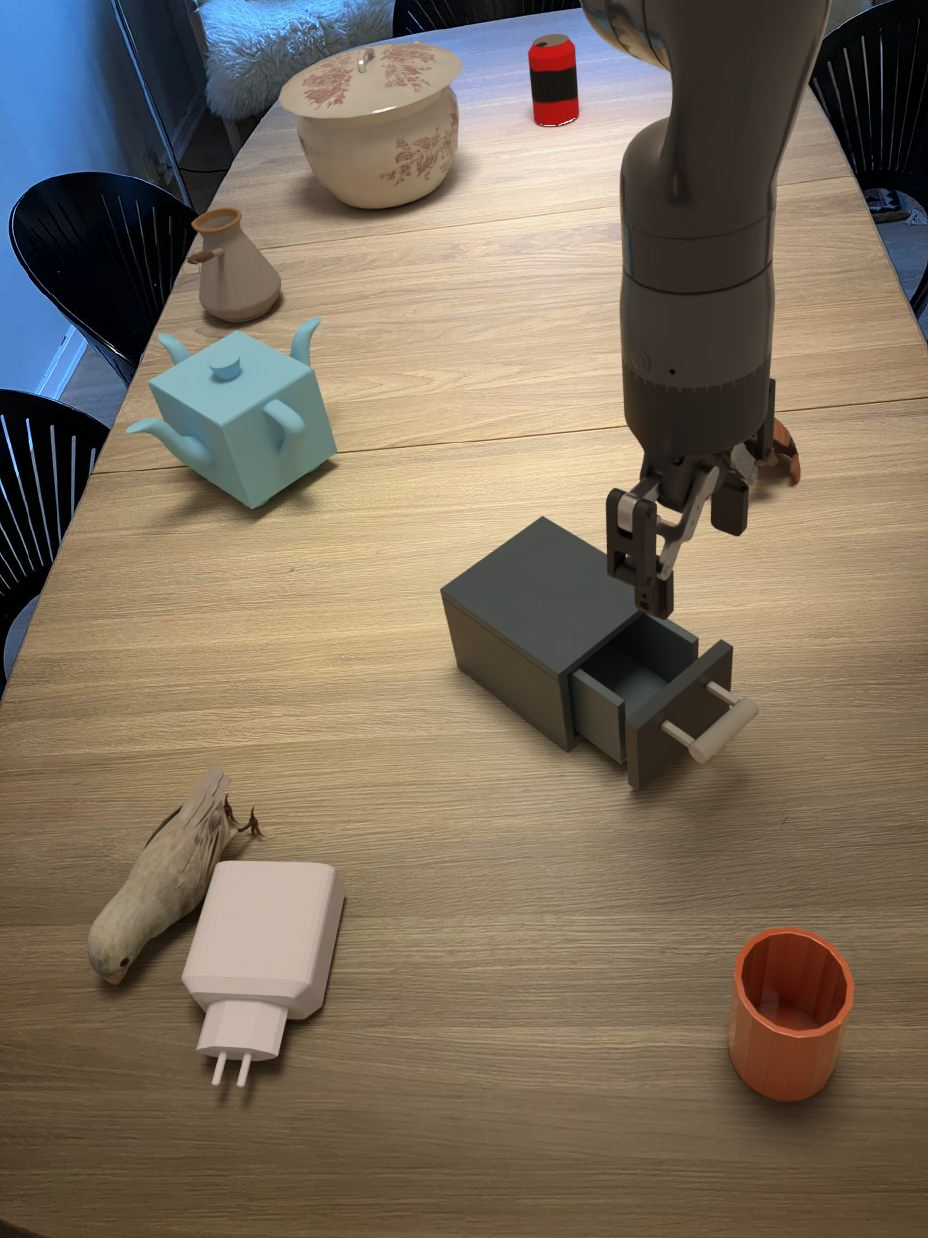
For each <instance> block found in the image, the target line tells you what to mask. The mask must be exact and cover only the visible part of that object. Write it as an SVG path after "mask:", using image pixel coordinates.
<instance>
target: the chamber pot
mask: <svg viewBox="0 0 928 1238" xmlns="http://www.w3.org/2000/svg"><path fill="white" fill-rule="evenodd" d="M462 65H463V64H462V59H461V58H460V56H458V55H457V54H456V53H455V52H454V51H452V49H449V48H445V47H442V46H439V45H436V44H427V43H425V42H424V41H421V40H415V41H414V42H402V43H401V42H400V43H399V42H398V43H384V44H378V45H372V46H369V45H367V46H363V47H360V48H356V49H352V50H349V51H345V52H342V53H338V54H335V55H332V56H330V57H327V58H325V59H322V60H321V61H318V62H316V63H314V64H312V65H310V66H308V67H306V68H304V69H303V70H301V71H300V72H298V73H296V74H294V75H293V76H292V77H291V78H290V79H289V80H288V81H287V82H285V84H284V85H283V86H282V87H281V90H280V92H279V96H278V101H279V104H280V105H281V106H282V108H283V110H285V111H287V112H290V113H292V114H294V115H296V116H298V117H299V119H298V123H297V127H296V133H297V137H298V141H299V144H300V148H301V150H302V152H303V154H304V156H305V159H306V161H307V163H308V165H309V167H310V169H311V172H312V173H313V174H314V177H315V178H316V179H317V180H318V181H319V182H320V184H322V185H323V186H324V187H325V188H326V190H328V191H329V193H331V195H332V196H333V197H334V198H335V199H337V200H338V201H341V203H344V204H346V205H348V206H350V207H354V208H359V209H387V208H394V207H399V206H402V205H406V204H409V203H412V202H414V201H416V200H419V199H422V198H423V197H425V196H428V195H430V193H432V192H433V191H434V190H436V189H437V188H438V187H440V185H441V183H442V182H443V180H444V179H445V177H446V176H447V175H448V173H449V171H450V168H451V165H452V163H453V161H454V158H455V155H456V153H457V151H458V148H459V147H458V146H459V125H460V119H459V118H460V112H459V106H458V105H459V104H458V97H457V94H456V93H455V91H454V90H453V89H452V87H451V84H452V83H454V81H455V80H456V78H457V77H458V76H459V74H460V73H461V72H462V68H463V66H462Z"/></svg>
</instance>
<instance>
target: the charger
mask: <svg viewBox="0 0 928 1238" xmlns="http://www.w3.org/2000/svg"><path fill="white" fill-rule="evenodd" d="M346 892H347V890H346V887H345V885H344V883H343V881H342V878H341V877H340V874H339V872H338V870H337V868H336V867H335V866H333V865H330V864H326V863H323V862H322V863H321V862H311V861H309V862H308V861H307V862H306V861H304V862H303V861H268V860H267V861H265V860H264V861H263V860H225V861H223V860H222V861H219V863H217V864H216V866H215V870H214V873H213V876H212V879H211V883H210V886H209V888H208V890H207V892H206V895H205V899H204V903H203V906H202V909H201V913H200V915H199V918H198V921H197V926H196V929H195V932H194V936H193V939H192V942H191V945H190V949H189V952H188V955H187V958H186V961H185V965H184V968H183V972H182V975H181V981H182V983H183V984H184V986H185V988H186V989H187V991H188V992H189V994H190V995H191V997H192V998H193V999H194V1000H195V1001H196V1003H197V1004H198V1005H199V1007H200V1008H201V1009H202V1011H203V1012H204V1013H205V1017H204V1020H203V1023H202V1028H201V1032H200V1035H199V1039H198V1042H197V1045H196V1049H195V1052H197V1053H200V1054H203V1055H205V1056H210V1057H214V1058H217V1062H216V1065H215V1069H214V1072H213V1077H212V1081H211V1085H212V1086H214V1087H218V1086H220V1084H221V1080H222V1078H223V1073H224V1068H225V1065H226V1060H232V1061H242V1062H241V1066H240V1071H239V1075H238V1078H237V1082H236V1087H238V1088H239V1089H243V1088H244V1087H245V1086H246V1083H247V1079H248V1078H247V1077H248V1074H249V1070H250V1065H251V1062H261V1061H268V1060H273V1059H275V1058H277V1057H278V1056H279V1053H280V1048H281V1044H282V1039H283V1035H284V1031H285V1026H286V1022H287V1020H305V1019H307V1018H308V1017H309V1016H311V1015H312V1014H314V1013H315V1012H316V1011H318V1010H319V1009H320V1008H322V1007H323V1003H324V998H325V993H326V988H327V983H328V979H329V974H330V968H331V963H332V959H333V954H334V950H335V944H336V939H337V935H338V929H339V925H340V920H341V914H342V909H343V906H344V905H343V904H344V902H345V901H344V900H345V897H346V896H345V895H346Z"/></svg>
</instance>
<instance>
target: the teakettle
mask: <svg viewBox="0 0 928 1238" xmlns="http://www.w3.org/2000/svg"><path fill="white" fill-rule="evenodd" d="M321 322H322V317H320V316H316V317H313V318H311V319H308V320H306V321H305V322H304V323H302V324H301V325H300V326H299V327H298V328H297V330H296V332H295V333H294V335H293V338H292V341H291V346H290V351H289V352H290V353H289V355H288V354H285V353H283V352H282V351H280V350H277V349H276V348H274V347H273V346H270V345H269V344H266V343H264V342H262V341H260V340H258V339H256V338H255V337H252V336H250V335H248V334H245V333H244V332H242V331H239V330H237V329H236V330H235V331H233V332H231V333H229V334H228V335H226V336H224V337H222V338H221V339H219V340H217V341H215V342H214V343H212V344H210V345H208V346H207V347H205V348H203V349H201V350H200V351H198V352H196V353H195V354H191V352H190V351H189V350H188V349H187V348H186V347H185V345H184V344H183V342H181V341H180V339H178V338H177V337H176V336H174V335H172V334H169V333H167V332H166V333H164V332H163V333H160V334H158V336H157V340H158V341H159V343H160V344H161V345H162V346H163V348H164V349H165V350H166V352H167V353H168V354H169V356H170V358H171V360H172V363H173V365H174V366H172V367H170V368H168V369H167V370H165V371H163V372H161V373H160V374H159V375H157V376H155V377H153V378H151V379H149V380H148V382H147V384H148V386H149V390H150V391H151V394H152V396H153V398H154V400H155V403H156V405H157V408H158V411H159V412H160V415H161V417H162V419H161V418H157V417H146V418H143V419H140V420H138V421H136V422H135V423H133V424H131V425H130V426H128V428H126V429H125V433H127V434H148V435H151V436H154V437H155V438H156V439H158V440H159V441H160V442H161V443H162V444H163V446H165V448H166V449H167V450H168V451H169V452H170V453H171V454H172V455H173V456H174V457H175V459H177V460H179V461H180V462H181V463H182V464H184V465H185V466H187V467H189V468H190V469H191V470H193V471H194V472H196V473H197V474H199V475H200V476H202V477H203V478H205V479H206V480H207V481H208V482H209V483H211V484H214V485H215V486H216V487H218V488H219V489H221V490H223V491H224V492H225V493H226V494H228V495H230V496H232V497H233V498H234V499H236V500H237V501H239V502H241V504H243V505H244V506H245V507H247V508H249V509H251V510H254V509H256V508H260V507H262V506H264V505H266V504H267V503H268V502H269V500H270V499H271V498H272V497H274V496H275V495H277V494H278V493H279V492H281V491H283V490H284V489H286V488H287V487H289V486H290V485H291V484H293V483H294V482H296V481H297V480H299V479H300V478H301V477H303V476H305V475H306V474H310V473H313V472H315V471H316V470H317V469H318V468H320V466H321V464H323V463H324V462H326V461H327V460H329V459H330V458H332V457H333V456H335V455H336V454H337V453H338V452H339V451H338V447H337V444H336V441H335V438H334V437H335V436H334V434H333V430H332V427H331V425H330V424H331V423H330V419H329V417H328V413H327V409H326V405H325V403H324V399H323V396H322V392H321V389H320V385H319V383H318V378H317V374H316V372H315V369H314V368H312V365H311V355H310V352H311V351H310V350H311V349H310V348H311V342H312V341H311V340H312V338H313V335H314V333H315V331H316V330H317V328H318V326H319V325H320V323H321Z"/></svg>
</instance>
